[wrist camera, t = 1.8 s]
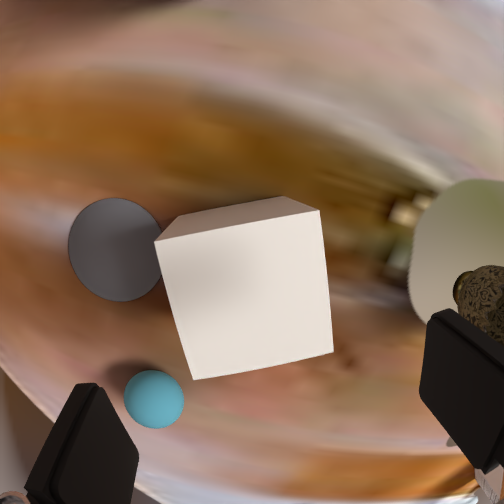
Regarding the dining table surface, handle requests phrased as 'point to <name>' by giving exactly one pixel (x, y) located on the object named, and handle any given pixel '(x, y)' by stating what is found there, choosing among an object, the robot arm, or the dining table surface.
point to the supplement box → (491, 482)
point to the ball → (153, 399)
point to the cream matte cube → (247, 285)
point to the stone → (482, 299)
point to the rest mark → (115, 249)
